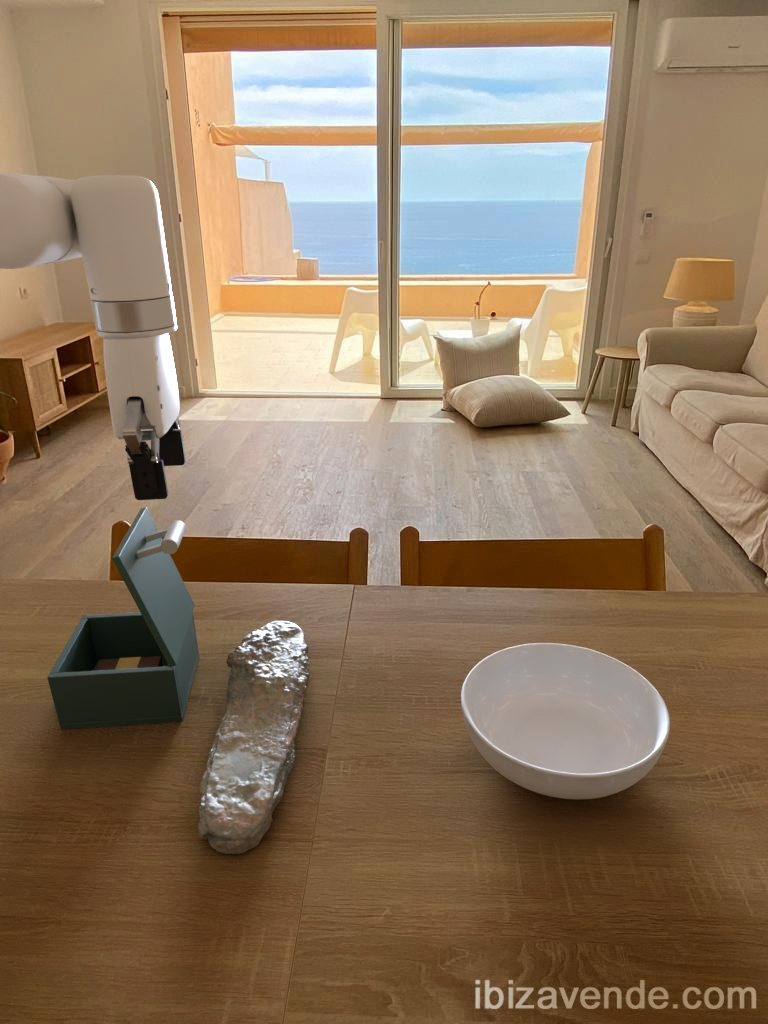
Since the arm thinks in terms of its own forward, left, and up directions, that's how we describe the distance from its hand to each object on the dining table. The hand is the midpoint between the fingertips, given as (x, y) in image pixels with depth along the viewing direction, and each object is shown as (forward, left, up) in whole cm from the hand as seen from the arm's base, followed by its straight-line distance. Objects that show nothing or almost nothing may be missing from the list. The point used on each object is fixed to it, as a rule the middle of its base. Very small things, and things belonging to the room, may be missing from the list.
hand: (162, 480), depth 74 cm
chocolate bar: (-8, 0, -27) cm, 28 cm away
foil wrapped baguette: (+9, -8, -28) cm, 30 cm away
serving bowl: (+41, -15, -28) cm, 51 cm away
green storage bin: (-7, 0, -27) cm, 28 cm away
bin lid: (-3, 0, -13) cm, 13 cm away
